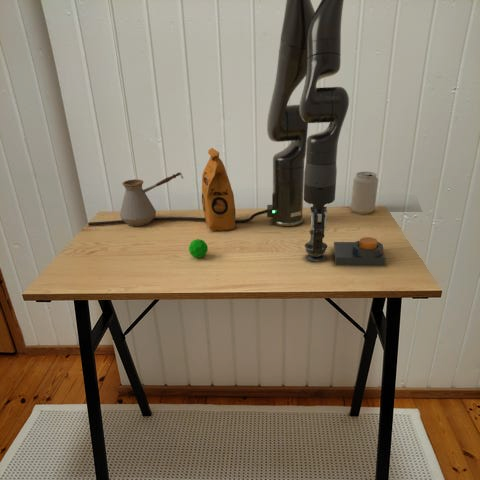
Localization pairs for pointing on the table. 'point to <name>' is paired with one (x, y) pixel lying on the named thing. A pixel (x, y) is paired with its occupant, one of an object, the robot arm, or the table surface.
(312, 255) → the salt shaker
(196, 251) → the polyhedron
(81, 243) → the table surface
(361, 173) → the can
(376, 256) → the button box
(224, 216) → the coffee package
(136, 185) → the coffee pot
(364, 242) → the button
